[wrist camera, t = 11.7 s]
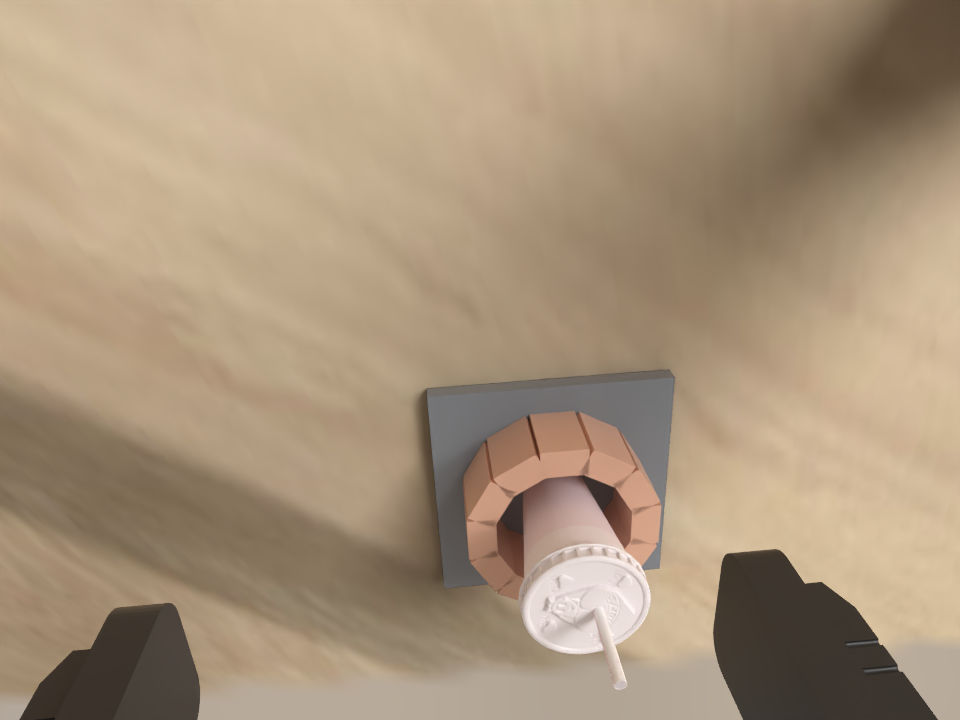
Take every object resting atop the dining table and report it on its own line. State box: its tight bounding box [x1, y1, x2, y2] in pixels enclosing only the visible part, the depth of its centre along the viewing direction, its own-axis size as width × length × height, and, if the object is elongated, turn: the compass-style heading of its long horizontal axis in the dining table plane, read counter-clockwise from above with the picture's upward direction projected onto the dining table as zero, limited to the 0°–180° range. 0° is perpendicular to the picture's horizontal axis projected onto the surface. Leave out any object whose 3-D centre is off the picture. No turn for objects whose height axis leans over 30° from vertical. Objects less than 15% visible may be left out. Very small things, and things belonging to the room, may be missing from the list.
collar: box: [427, 370, 675, 600], centre depth 42 cm, size 14×14×5 cm
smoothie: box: [518, 475, 651, 689], centre depth 37 cm, size 6×6×14 cm
